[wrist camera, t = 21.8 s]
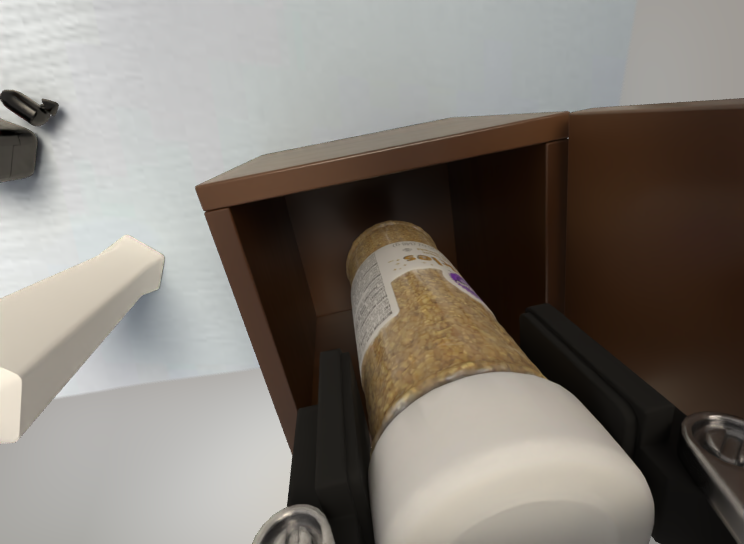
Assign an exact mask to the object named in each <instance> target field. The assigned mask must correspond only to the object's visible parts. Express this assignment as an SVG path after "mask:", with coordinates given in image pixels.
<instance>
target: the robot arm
mask: <svg viewBox="0 0 744 544" xmlns="http://www.w3.org/2000/svg"><path fill="white" fill-rule="evenodd" d="M519 326H520V348H521V350H522V351H523V352H524V353H525V354H526V356H527V357H528V359H530V361H531V362H532V363H533V364H534V365H536V367H537V368H538V369H539V371H540V372H541V373H542V375H543V376H545V377H546V378H547V379H548V380H549V381H552V382H554V383H556V384H559V385H560V386H562V387H563V388H565V389H566V390H568V391H569V392H570V393H572V394H573V395H574V396H575V397H576V398H577V399H578V400H579V401H580V402H581V403H582V404H583V405H584V406H585V407H586V408H587V409H588V410H589V412H590V413H591V414H592V415H593V416H594V417H595V418H596V419H597V420H598V421H599V422H600V423H601V425H602V426H603V427H604V428H605V429H606V430H607V431H608V433H609V434H610V435H611V436H612V437H613V438H614V440H615V441H616V442H617V443H618V444H619V445H620V447H621V448H622V449H623V450H624V451H625V453H626V454H627V455H628V456H629V457H630V459H631V460H632V461H633V462H634V463H635V465H636V466H637V467H638V468H639V469H640V471H641V472H642V474H643V475H644V477H645V479H646V481H647V484H648V486H649V488H650V491H651V494H652V497H653V501H654V512H655V517H654V526H653V531H652V534H651V536H652V537H653V538H654V540H655V541H656V542H658V543H660V544H744V419H743V418H741V417H738V416H735V415H731V414H727V413H722V412H713V411H702V412H696V413H692V414H690V415H688V416H687V415H685V414H684V413H683V412H682V411H680V410H679V409H678V408H677V407H676V406H675V405H674V404H672V403H671V402H670V401H669V400H667V399H666V398H665V397H664V396H663V395H661V394H660V393H659V392H658V391H656V390H655V389H654V388H653V387H651V386H650V385H649V384H648V383H647V382H645V381H644V380H643V379H642V378H640V377H639V376H638V375H637V374H635V373H634V372H633V371H632V370H631V369H629V368H628V367H627V366H626V365H624V364H623V363H622V362H621V361H620V360H618V359H617V358H616V357H615V356H613V355H612V354H611V353H610V352H608V351H607V350H606V349H605V348H604V347H602V346H601V345H600V344H599V343H597V342H596V341H595V340H594V339H592V338H591V337H590V336H589V335H588V334H586V333H585V332H584V331H583V330H581V329H580V328H579V327H578V326H577V325H575V324H574V323H573V322H572V321H570V320H569V319H568V318H567V317H565V316H564V315H563V314H562V313H561V312H559V311H558V310H557V309H556V308H554V307H553V306H552V305H551V304H549V303H545V304H540V305H535V306H531V307H527V308H526V309H525V313H524V314H521V315H520V317H519ZM370 452H371V443H370V436H369V431H368V426H367V422H366V418H365V414H364V410H363V406H362V401H361V397H360V393H359V389H358V385H357V381H356V377H355V373H354V369H353V365H352V361H351V357H350V353H349V352H345V353H342V351H341V349H340V348H338V349H333V350H328V351H324V352H320V361H319V388H318V404H317V405H312V406H308V407H303V408H299V410H298V412H297V419H296V428H295V437H294V447H293V456H292V465H291V476H290V485H289V493H288V502H287V507H286V508H284V509H282V510H281V511H279V512H277V513H276V514H274V515H273V516H272V517H271V518H270V519H269V520H268V521H267V522H266V523H265V524H264V525H263V526H262V527H261V529H260V530H259V532H258V533H257V535H256V536H255V538H254V540H253V543H252V544H375V540H374V532H373V523H372V515H371V507H370V498H369V488H368V468H369V463H370Z"/></svg>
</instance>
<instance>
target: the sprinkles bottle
mask: <svg viewBox="0 0 744 544" xmlns="http://www.w3.org/2000/svg"><path fill="white" fill-rule="evenodd" d="M346 273H347V277H348V279H349V281H350V285H351V304H352V312H353V321H354V329H355V337H356V344H357V352H358V360H359V368H360V376H361V383H362V387H363V391H364V393H365V398H366V408H367V413H368V421H369V430H370V435H371V438H372V446H371V452H370V463H369V468H368V488H369V498H370V507H371V515H372V523H373V532H374V540H375V544H649V541H650V538H651V534H652V531H653V526H654V517H655V512H654V501H653V497H652V494H651V491H650V488H649V486H648V484H647V481H646V479H645V477H644V475H643V474H642V472H641V471H640V469H639V468H638V467H637V466H636V465H635V463H634V462H633V461H632V460H631V459H630V457H629V456H628V455H627V454H626V453H625V451H624V450H623V449H622V448H621V447H620V445H619V444H618V443H617V442H616V441H615V440H614V438H613V437H612V436H611V435H610V434H609V433H608V431H607V430H606V429H605V428H604V427H603V426H602V425H601V423H600V422H599V421H598V420H597V419H596V418H595V417H594V416H593V415H592V414H591V413H590V412H589V410H588V409H587V408H586V407H585V406H584V405H583V404H582V403H581V402H580V401H579V400H578V399H577V398H576V397H575V396H574V395H573V394H572V393H570V392H569V391H568V390H566V389H565V388H563V387H562V386H560V385H559V384H556V383H554V382H552V381H549V380H548V379H547V378H546V377H545V376H543V375H542V373H541V372H540V371H539V369H538V368H537V367H536V365H534V364H533V363H532V362H531V361H530V359H528V357H527V356H526V354H525V353H524V352H523V351H522V350H521V348H520V347H519V346H518V345H517V344H516V343H515V341H514V340H513V338H512V337H511V336H510V335H509V334H508V333H507V332H506V331H505V329H504V328H503V327H502V326H501V325H500V324H499V323H498V321H497V320H496V318H495V316H494V314H493V313H492V311H491V310H490V309H489V308H488V307H487V306H486V304H485V303H484V302H483V301H482V300H481V299H480V297H479V296H478V295H477V294H476V293H475V292H474V290H473V289H472V288H471V287H470V286H469V285H468V283H467V282H466V281H465V280H464V279H463V277H462V276H461V275H460V274H459V272H458V271H457V270H456V269H455V267H454V266H453V265H452V264H451V263H450V261H449V260H448V259H447V258H446V257H445V256H444V255H443V254H442V253H441V252H439V250H438V249H437V247H436V245H435V243H434V241H433V240H432V238H431V237H430V236H429V234H427V233H426V232H425V231H424V230H423V229H422V228H420V227H419V226H416V225H414V224H412V223H409V222H405V221H390V220H389V221H385V222H381V223H378V224H375V225H374V226H372V227H370V228H368V229H367V230H365V231H364V232H363V233H362V234H360V236H359V237H358V238H357V239H356V240H355V241H354V242H353V244H352V246H351V249H350V251H349V253H348V256H347V261H346Z"/></svg>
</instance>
